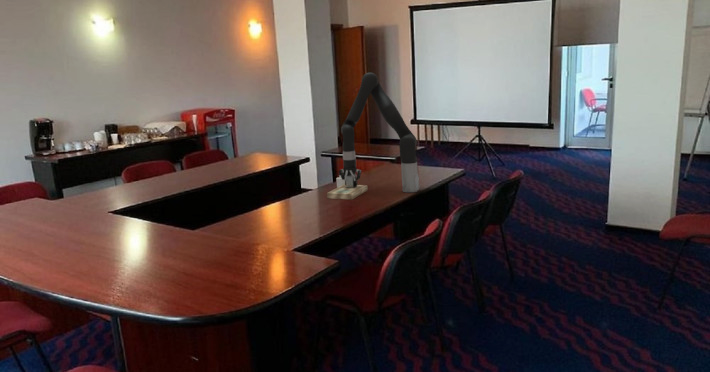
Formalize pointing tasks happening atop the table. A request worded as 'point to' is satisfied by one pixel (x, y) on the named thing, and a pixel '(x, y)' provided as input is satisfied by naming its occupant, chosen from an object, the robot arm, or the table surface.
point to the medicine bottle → (340, 180)
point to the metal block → (349, 181)
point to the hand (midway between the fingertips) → (351, 186)
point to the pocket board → (347, 192)
